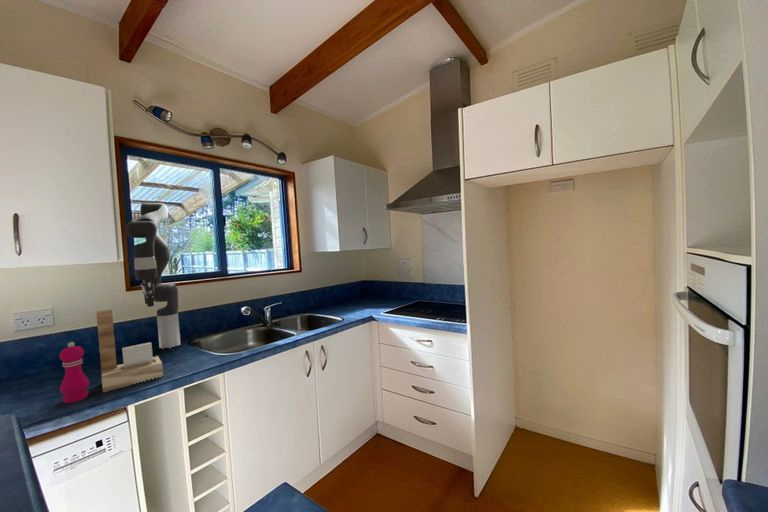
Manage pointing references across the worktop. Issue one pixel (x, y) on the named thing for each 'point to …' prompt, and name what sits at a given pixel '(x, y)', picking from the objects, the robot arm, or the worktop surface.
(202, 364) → the worktop surface
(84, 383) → the pepper mill
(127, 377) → the wooden l-shaped stand
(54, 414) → the worktop surface
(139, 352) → the grey stone slab
